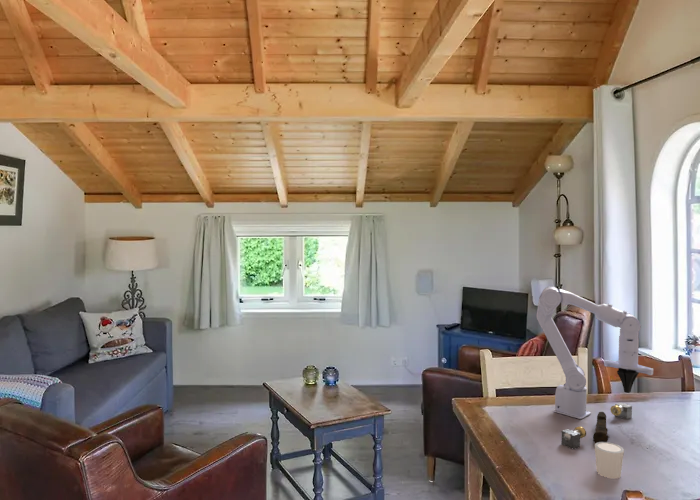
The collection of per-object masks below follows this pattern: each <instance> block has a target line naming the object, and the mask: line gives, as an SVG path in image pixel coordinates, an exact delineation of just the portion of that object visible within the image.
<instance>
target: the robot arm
mask: <svg viewBox="0 0 700 500" xmlns="http://www.w3.org/2000/svg"><path fill="white" fill-rule="evenodd" d="M560 304H561V305H562V306H567V305H572V306H575V307H577V308H579V309H582V310H584V311H586V312H589V313H592V314H593V315H594V316H595V319H597V320H598V321H600V322H603V323H605V324H608V325H609V326H612V327H613V328H620V329H619V335H618V360H610V359H605V360H604V361H603V363H604V364H603V366H604V367H605V368H606V367H607V368H609V367H610V368H615V369H618V370H617V371H616V373H617V375H618V377H619V379H620V381H621V382H620V383H621V385H622V388H623V392H624V393H626V394H630V393H631V392H632V388H633V384H634V383H635V380H636V379H637V377H638V375H639V374H646V375H647V376H653V375H654V368H651V367H648V366H644V365H641V364H639V346H640V345H639V340H640V339H639V336H640V335H639V333H640V330H641V329H642V325H641V322H640V320H639V319H638V318H637V317H636V316H635V315H633V314H632V313H631V312H628V311H627V310H623V311H622V310H620V309H618V308H615V307H613V304H611V303H607V304H605V303H602V304H597V303H594V302H592V301H590V300H588V299H586V298H583V296H579V295H577V294H575V293H573V292H571V291H567V290H566V289H565V290H564V289H562V288H557V287H556V286H551V285H549V286H547V287H545V288H544V289H543V290H542V291H541V293H540V295H539V297H538V304H537V310H536V320H537V321H538V324H539V326H540V327H541V330H542V331H543V334H544V335H545V337H546V340H547V341H548V343H549V345H550V347H551V349H552V351H553V353H554V354H555V356H556V358H557V360H558V362H559V364H560V366H561V369H562V372H563V374H564V377H565V383H564V384H559V385H557V386H556V389H555V394H554V396H555V397H554V401H555V402H554V410H553V412H554V413H557V414H560V415H564V416H568V417H571V418H575V419H579V420H582V419H584V418H586V417H588V416H589V415H591V414H592V412H591V411H587V396H588V395H587V393H588V392H587V389H588V388H587V386H586V385H587V379H586V377H585V376H586V374H585V371H584V369H583V368H582V367H580V366H579V365H578V364H577V362H576V360H575V359H574V357H573V355H572V353H571V352H570V350H569V348H568V346H567V344H566V342H565V341H564V338H563V336H562V334H561V332H560V331H559V329H558V326H557V324H556V323H555V321H554V319H553V317H552V316H553V314H554V312H555V309H556V308H558V306H559V305H560Z"/></svg>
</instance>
